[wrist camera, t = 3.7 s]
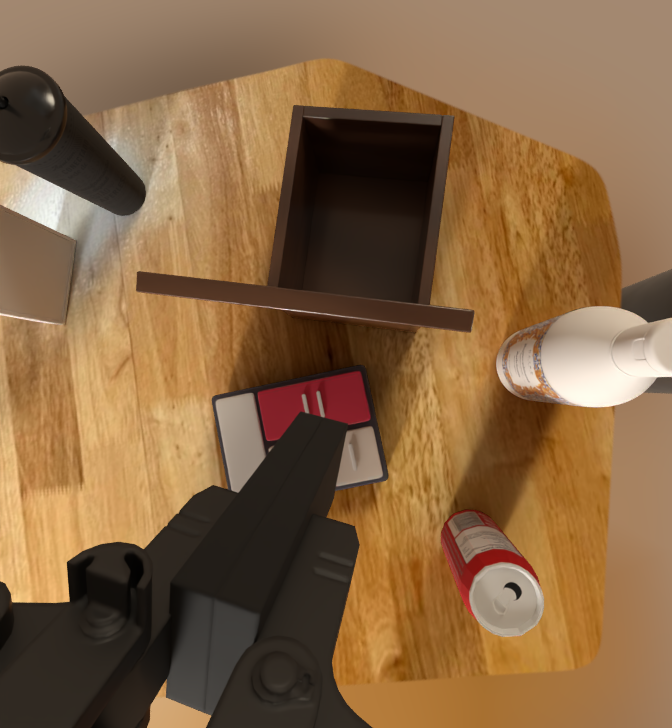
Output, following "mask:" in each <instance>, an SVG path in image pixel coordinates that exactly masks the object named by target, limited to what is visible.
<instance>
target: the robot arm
mask: <svg viewBox="0 0 672 728" xmlns="http://www.w3.org/2000/svg"><path fill="white" fill-rule="evenodd" d="M347 427H348V423H344V422H340V421H336V420H332V419H328V418H325V417H321V416H317V415H313V414H309V413H305V412H301V411H300V412H299V414H298V415H297V416H296V418H295V419H294V420H293V422H292V423H291V424H290V426H289V427H288V428H287V430H286V431H285V432H284V433H283V435H282V436H281V437H280V439H279V440H278V441H277V443H276V444H275V445H274V447H273V448H272V449H271V451H270V452H269V453H268V454H267V456H266V457H265V458H264V460H263V461H262V462H261V464H260V465H259V466H258V468H257V469H256V470H255V472H254V473H253V474H252V475H251V477H250V478H249V479H248V481H247V482H246V483H245V485H244V486H243V487H242V489H241V490H240V491H239V493H238V492H234V491H231V490H228V489H224V488H221V487H218V486H214V485H213V486H211V487H209V488H207V489H205V490H203V491H201V492H199V493H197V494H196V495H194V496H193V497H192V498H191V499H190V500H189V501H188V502H187V503H186V504H185V505H184V507H183V508H182V509H181V510H180V512H179V514H176V515H175V516H174V517H173V518H172V520H171V521H170V522H169V523H168V525H167V527H166V526H165V527H164V528H163V529H162V530H161V531H160V533H159V534H158V535H157V536H156V537H155V538H154V539H153V540H152V541H151V542H150V543H149V544H148V546H147V547H146V548H145V549H142V548H140V547H139V546H137V545H135V544H129V543H123V542H115V543H107V544H100V545H98V546H95V547H92V548H90V549H87V550H85V551H82V552H81V553H79V554H78V555H77V556H75V557H74V558H72V559H71V560H69V561H68V562H67V570H68V584H69V597H70V602H63V603H13V602H12V600H11V593H10V592H9V590H8V588H7V586H6V584H5V583H3V582H0V728H147V726H148V723H149V720H150V705H151V703H152V702H153V700H154V699H155V697H156V695H157V694H158V692H159V690H160V689H161V687H162V685H163V684H164V682H165V680H166V679H167V687H166V698H169V699H171V700H174V701H176V702H179V703H181V704H184V705H186V706H189V707H191V708H194V709H196V710H198V711H201V712H204V713H206V714H209V715H211V718H210V721H209V722H208V725H207V727H206V728H372V727H371V726H370V725H369V724H367V723H366V722H365V721H364V720H362V719H361V718H360V717H359V716H358V715H357V714H356V713H355V712H354V711H353V710H352V709H351V708H350V707H349V706H348V705H347V703H346V702H345V700H344V699H343V697H342V695H341V694H340V692H339V690H338V688H337V685H336V682H335V679H334V675H333V667H332V658H333V654H334V650H335V646H336V641H337V637H338V633H339V629H340V625H341V621H342V617H343V613H344V609H345V605H346V601H347V597H348V592H349V588H350V584H351V580H352V575H353V571H354V567H355V562H356V558H357V554H358V549H359V541H358V537H357V533H356V529H355V526H353V525H349V524H346V523H343V522H339V521H336V520H333V519H329V518H326V517H327V514H328V512H329V509H330V507H331V504H332V501H333V499H334V494H335V489H336V483H337V478H338V473H339V468H340V463H341V458H342V453H343V448H344V443H345V437H346V432H347Z"/></svg>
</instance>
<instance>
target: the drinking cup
mask: <svg viewBox="0 0 672 728" xmlns="http://www.w3.org/2000/svg"><path fill="white" fill-rule="evenodd" d="M0 161H1V162H3V163H6V164H11V165H16V166H18V167H20V168H22V169H25V170H27V171H29V172H31V173H33V174H35V175H37V176H39V177H41V178H43V179H45V180H47V181H49V182H51V183H53V184H55V185H57V186H59V187H61V188H63V189H65V190H68V191H70V192H72V193H74V194H76V195H78V196H80V197H82V198H84V199H86V200H88V201H90V202H92V203H94V204H96V205H98V206H100V207H102V208H104V209H106V210H108V211H111V212H113V213H115V214H117V215H121V216H125V215H130V214H132V213H134V212H136V211H137V210H138V209H139V208H140V207H141V206H142V204H143V202H144V200H145V195H146V191H145V186H144V183H143V181H142V180H141V179H140V178H139V176H138V175H137V174H136V173H135V172H134V171H133V170H132V169H131V168H130V167H129V166H128V165H127V163H126V162H125V161H124V160H123V159H122V158H121V157H120V156H119V155H118V154H117V153H116V152H115V150H114V149H113V148H112V147H111V146H110V145H109V144H108V143H107V142H106V141H105V140H104V139H103V137H102V136H101V135H100V134H99V133H98V132H97V131H96V130H95V129H94V128H93V127H92V126H91V124H90V123H89V122H88V121H87V120H86V119H85V118H84V117H83V116H82V115H81V114H80V113H79V111H78V110H77V109H76V108H75V107H74V106H73V105H72V104H71V103H70V102H69V101H68V100H67V99H66V97H65V96H64V94H63V92H62V90H61V89H60V87H59V86H58V84H57V83H56V82H55V81H54V80H53V79H52V78H51V77H50V76H49V75H48V74H46V73H45V72H43V71H41V70H39V69H37V68H34V67H29V66H14V67H10V68H7V69H4V70H3V71H1V72H0Z"/></svg>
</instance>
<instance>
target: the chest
mask: <svg viewBox="0 0 672 728" xmlns="http://www.w3.org/2000/svg"><path fill="white" fill-rule="evenodd" d="M453 123H454V116H449V115H443V116H442V115H435V114H419V113H404V112H389V111H374V110H359V109H344V108H329V107H313V106H299V105H294V106H293V112H292V119H291V126H290V133H289V140H288V147H287V154H286V161H285V168H284V174H283V181H282V188H281V195H280V202H279V209H278V216H277V223H276V230H275V237H274V244H273V250H272V257H271V264H270V271H269V278H268V285H267V286H270V287H278V288H287V289H296V290H304V291H313V292H321V293H330V294H339V295H347V296H356V297H364V298H373V299H382V300H390V301H399V302H407V303H416V304H425V305H430V297H431V290H432V282H433V275H434V267H435V260H436V252H437V244H438V237H439V229H440V222H441V214H442V206H443V199H444V191H445V184H446V176H447V169H448V161H449V153H450V146H451V138H452V131H453ZM283 311H284V312H286V313H287V314H288V315H290V316H291V317H294V318H302V319H310V320H318V321H326V322H334V323H342V324H350V325H358V326H366V327H374V328H382V329H390V330H398V331H407V332H415V333H416V332H417V331H418V329H419V328H420V326H411V325H403V324H395V323H387V322H379V321H370V320H362V319H354V318H346V317H338V316H329V315H321V314H313V313H305V312H297V311H289V310H283Z"/></svg>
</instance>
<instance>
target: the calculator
mask: <svg viewBox="0 0 672 728" xmlns="http://www.w3.org/2000/svg"><path fill="white" fill-rule="evenodd" d="M212 405H213V411H214V416H215V421H216V427H217V432H218V437H219V443H220V448H221V453H222V459H223V464H224V469H225V475H226V480H227V485H228V490H231V491H234V492H238V493H239V491H240V490H241V489H242V487H243V486H244V485H245V483H246V482H247V481H248V479H249V478H250V477H251V475H252V474H253V473H254V472H255V470H256V469H257V468H258V466H259V465H260V464H261V462H262V461H263V460H264V458H265V457H266V456H267V454H268V453H269V452H270V451H271V449H272V448H273V447H274V445H275V444H276V443H277V441H278V440H279V439H280V437H281V436H282V435H283V433H284V432H285V431H286V430H287V428H288V427H289V426H290V424H291V423H292V422H293V420H294V419H295V418H296V416H297V415H298V414H299V412H300V411H301V412H305V413H309V414H313V415H317V416H321V417H325V418H328V419H332V420H336V421H340V422H344V423H348V427H347V432H346V437H345V443H344V448H343V453H342V458H341V463H340V468H339V473H338V478H337V483H336V489H335V491H337V490H342V489H347V488H352V487H357V486H362V485H367V484H372V483H377V482H382V481H386V480H387V479H388V470H387V465H386V461H385V456H384V451H383V447H382V442H381V437H380V433H379V428H378V423H377V419H376V414H375V409H374V405H373V400H372V395H371V391H370V386H369V381H368V376H367V372H366V368H365V366H363V365H357V366H352V367H348V368H343V369H338V370H333V371H329V372H324V373H319V374H314V375H310V376H305V377H300V378H295V379H291V380H286V381H281V382H277V383H272V384H267V385H262V386H258V387H253V388H248V389H243V390H239V391H234V392H229V393H224V394H220V395H216V396H214V397H213V398H212Z"/></svg>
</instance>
